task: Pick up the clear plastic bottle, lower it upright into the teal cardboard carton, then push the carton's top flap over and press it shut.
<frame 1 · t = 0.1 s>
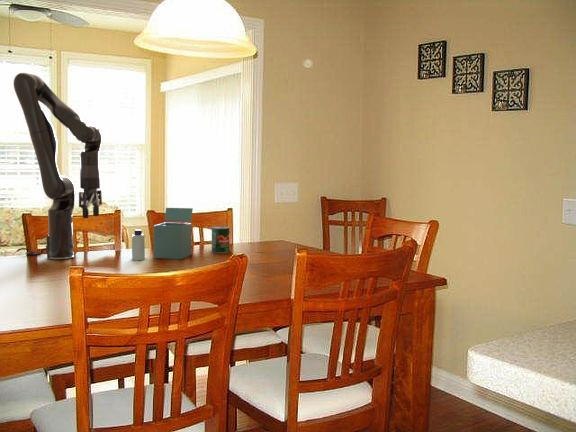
hand: (90, 217, 242), 17 cm above the table, tool pointing down, fingers open, 8 cm apart
canned tomato: (220, 252, 266), on the table
flap: (178, 214, 258), point 17 cm above the table, hinge at 110.0°
bottle: (138, 259, 245), on the table
carton: (173, 256, 253), on the table
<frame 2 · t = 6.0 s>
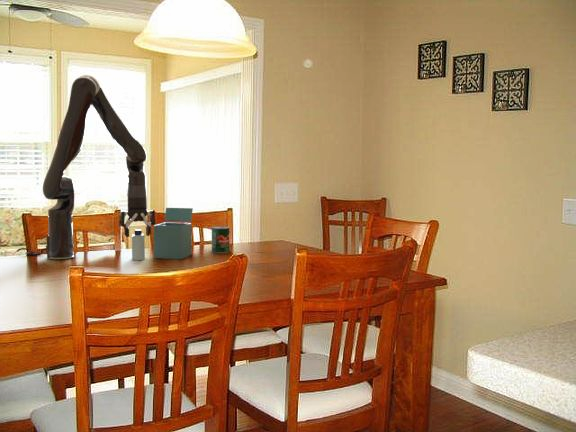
hand: (137, 236, 244), 9 cm above the table, tool pointing down, fingers open, 8 cm apart
nothing on the table moved.
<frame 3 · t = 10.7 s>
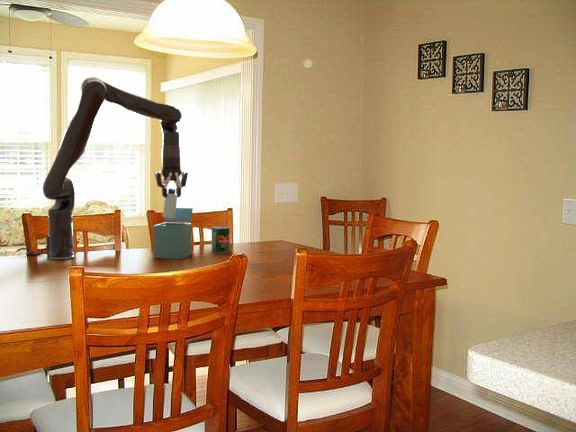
hand: (171, 197, 250), 25 cm above the table, tool pointing down, fingers closed on bottle, 5 cm apart
bottle: (168, 217, 251), point 16 cm above the table, tilted 7°, touching gripper
everything else where it was.
when the fingers open (9 cm above the table, at t = 14.5 s): bottle stays where it is, resting on carton.
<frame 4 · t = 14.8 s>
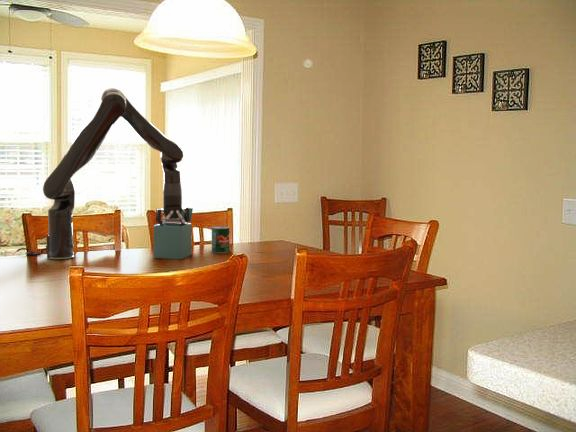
hand: (172, 232, 252), 10 cm above the table, tool pointing down, fingers open, 8 cm apart
bottle: (169, 255, 253), point 1 cm above the table, touching carton
everything else where it was.
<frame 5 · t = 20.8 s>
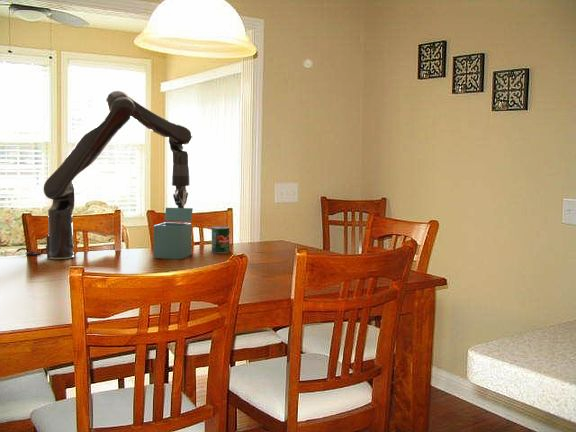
hand: (181, 214, 262), 17 cm above the table, tool pointing down, fingers closed
flap: (178, 214, 258), point 17 cm above the table, hinge at 109.2°, touching gripper
everything else where it was.
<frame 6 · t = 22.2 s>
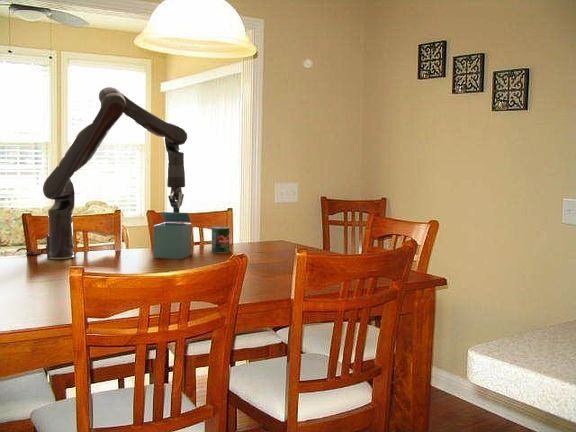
hand: (176, 216, 256), 16 cm above the table, tool pointing down, fingers closed
flap: (176, 217, 255), point 16 cm above the table, hinge at 43.7°, touching gripper
everything else where it was.
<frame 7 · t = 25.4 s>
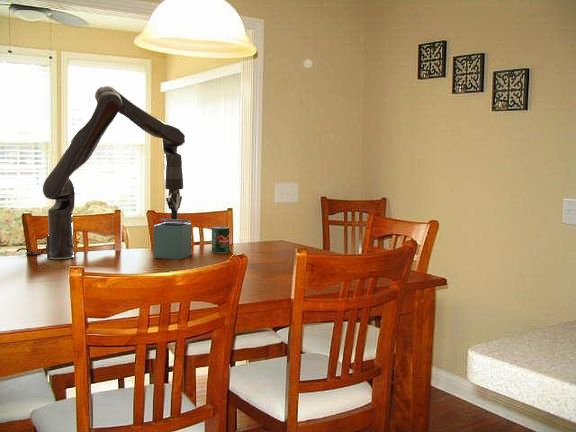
hand: (174, 219, 253), 16 cm above the table, tool pointing down, fingers closed
flap: (175, 220, 255), point 15 cm above the table, hinge at 13.8°
everything else where it was.
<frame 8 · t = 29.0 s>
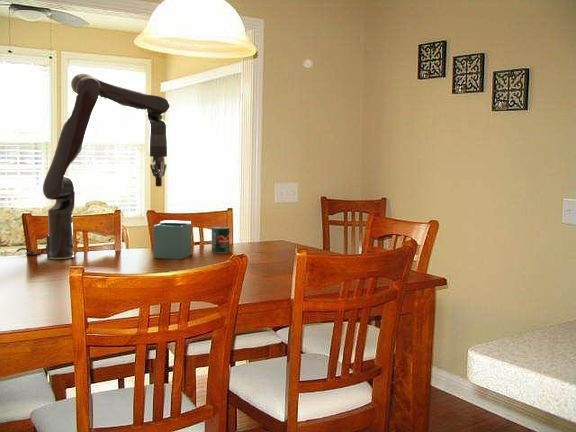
hand: (158, 186, 256), 29 cm above the table, tool pointing down, fingers closed
flap: (175, 222, 255), point 14 cm above the table, hinge at -0.8°
everything else where it was.
at the end: bottle inside the target area in the carton (1.4 cm from its centre), point 0.5 cm above the carton's base; bottle tilted 0°; flap at -1° (first picture: +110°) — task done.
